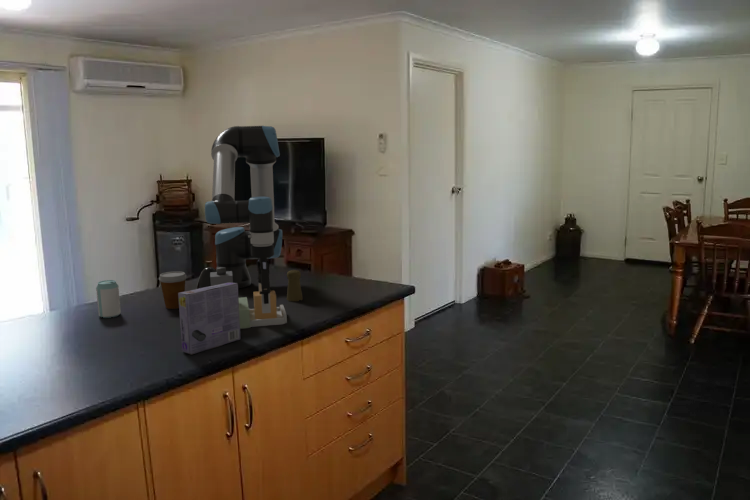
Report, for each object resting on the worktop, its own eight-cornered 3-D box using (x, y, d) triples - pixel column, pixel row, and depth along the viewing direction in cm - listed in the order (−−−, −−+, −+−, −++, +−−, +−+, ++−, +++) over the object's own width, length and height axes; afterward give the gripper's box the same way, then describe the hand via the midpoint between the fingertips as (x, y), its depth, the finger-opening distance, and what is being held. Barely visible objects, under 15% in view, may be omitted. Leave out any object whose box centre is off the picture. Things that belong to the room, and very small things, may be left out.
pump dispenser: (219, 313, 219) (216, 270, 216) (191, 312, 221) (188, 269, 218) (231, 305, 229) (229, 264, 226) (204, 304, 231) (202, 263, 228)
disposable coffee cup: (167, 311, 222) (164, 278, 220) (156, 306, 230) (154, 273, 227) (192, 306, 228) (190, 274, 226) (182, 301, 235) (179, 270, 233)
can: (112, 311, 223) (109, 278, 221) (125, 314, 219) (122, 280, 217) (94, 316, 217) (91, 282, 215) (107, 319, 213) (104, 285, 211)
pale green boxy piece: (205, 317, 215) (202, 265, 212) (282, 311, 221) (280, 260, 218) (204, 331, 200) (201, 275, 197) (287, 324, 206) (285, 270, 203)
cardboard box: (254, 314, 214) (253, 291, 212) (275, 313, 216) (274, 290, 214) (255, 319, 208) (254, 296, 207) (276, 318, 210) (275, 294, 208)
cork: (304, 300, 235) (303, 271, 233) (288, 302, 233) (287, 272, 231) (300, 296, 241) (299, 268, 239) (284, 298, 239) (283, 269, 237)
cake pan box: (234, 335, 196) (231, 279, 193) (244, 338, 193) (241, 282, 190) (180, 352, 181) (176, 292, 178) (190, 356, 178) (186, 295, 175)
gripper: (248, 238, 218) (251, 298, 222) (252, 252, 195) (255, 318, 199) (270, 237, 220) (273, 296, 224) (277, 250, 196) (279, 316, 200)
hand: (264, 307), depth 211 cm, fingers open, 13 cm apart
